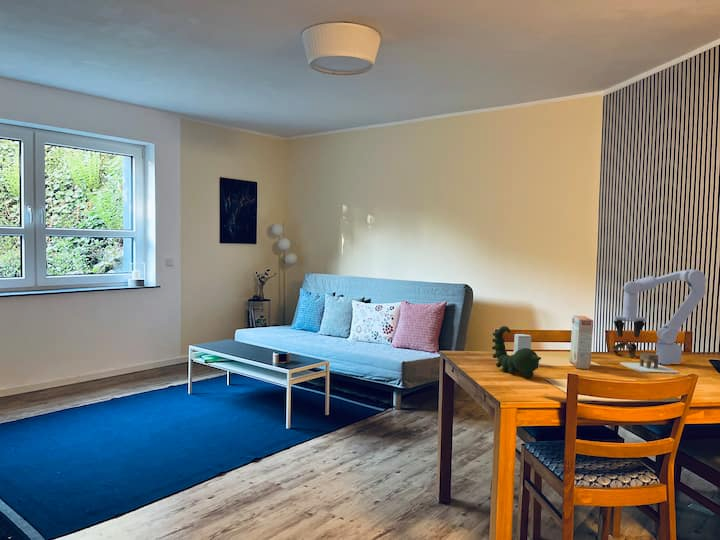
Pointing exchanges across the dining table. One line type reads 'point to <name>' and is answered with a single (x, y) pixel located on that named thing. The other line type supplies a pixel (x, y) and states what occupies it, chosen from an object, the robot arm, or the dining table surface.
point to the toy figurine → (514, 356)
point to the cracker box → (581, 342)
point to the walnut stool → (649, 359)
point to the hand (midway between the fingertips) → (628, 336)
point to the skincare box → (522, 342)
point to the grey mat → (647, 370)
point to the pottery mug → (631, 348)
